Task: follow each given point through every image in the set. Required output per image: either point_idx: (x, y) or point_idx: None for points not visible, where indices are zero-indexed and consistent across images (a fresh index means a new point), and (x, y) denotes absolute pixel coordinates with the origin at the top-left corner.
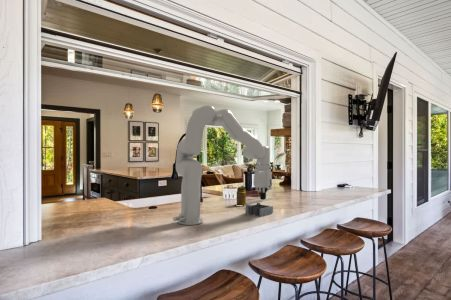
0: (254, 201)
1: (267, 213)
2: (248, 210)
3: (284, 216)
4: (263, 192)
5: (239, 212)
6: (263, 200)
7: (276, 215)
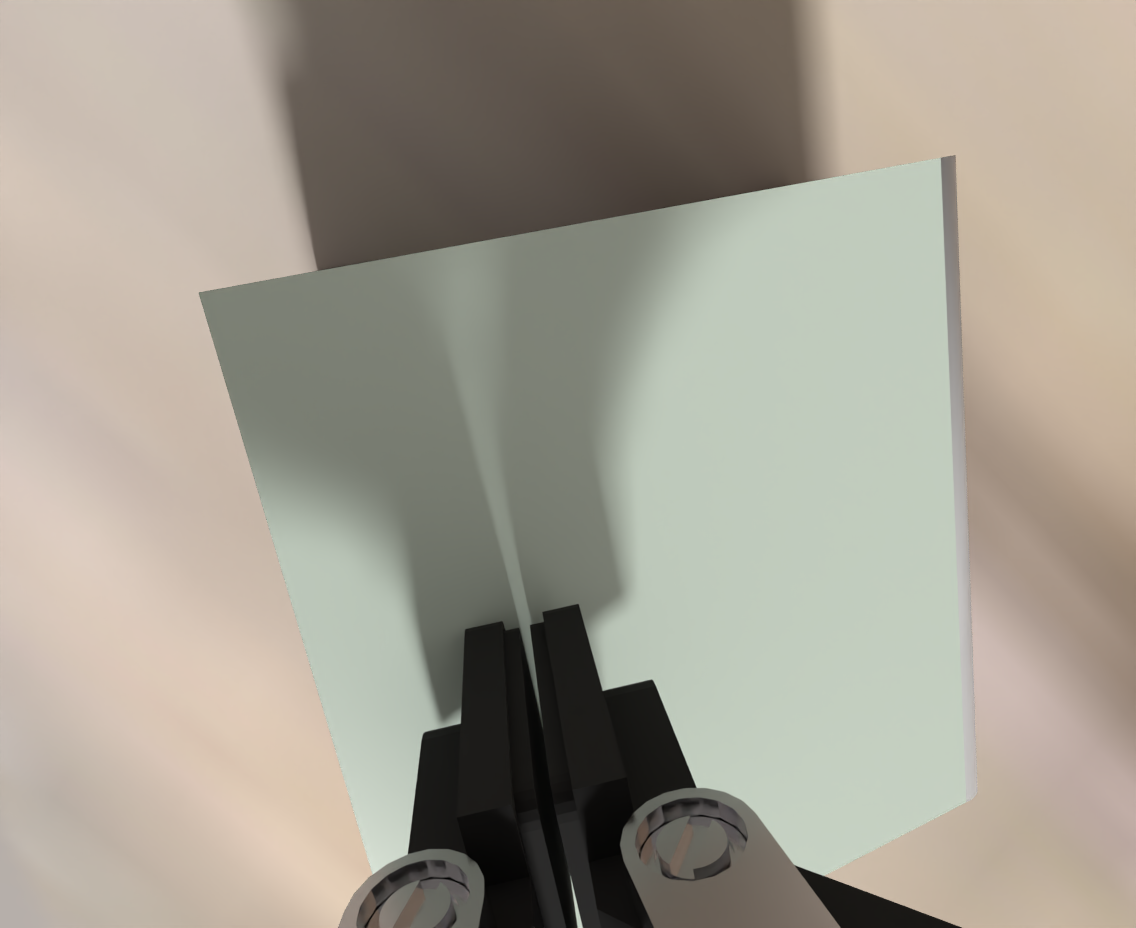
0: (557, 228)
1: None
2: None
3: (65, 736)
4: (440, 880)
5: (1006, 180)
6: (264, 497)
7: (241, 667)
